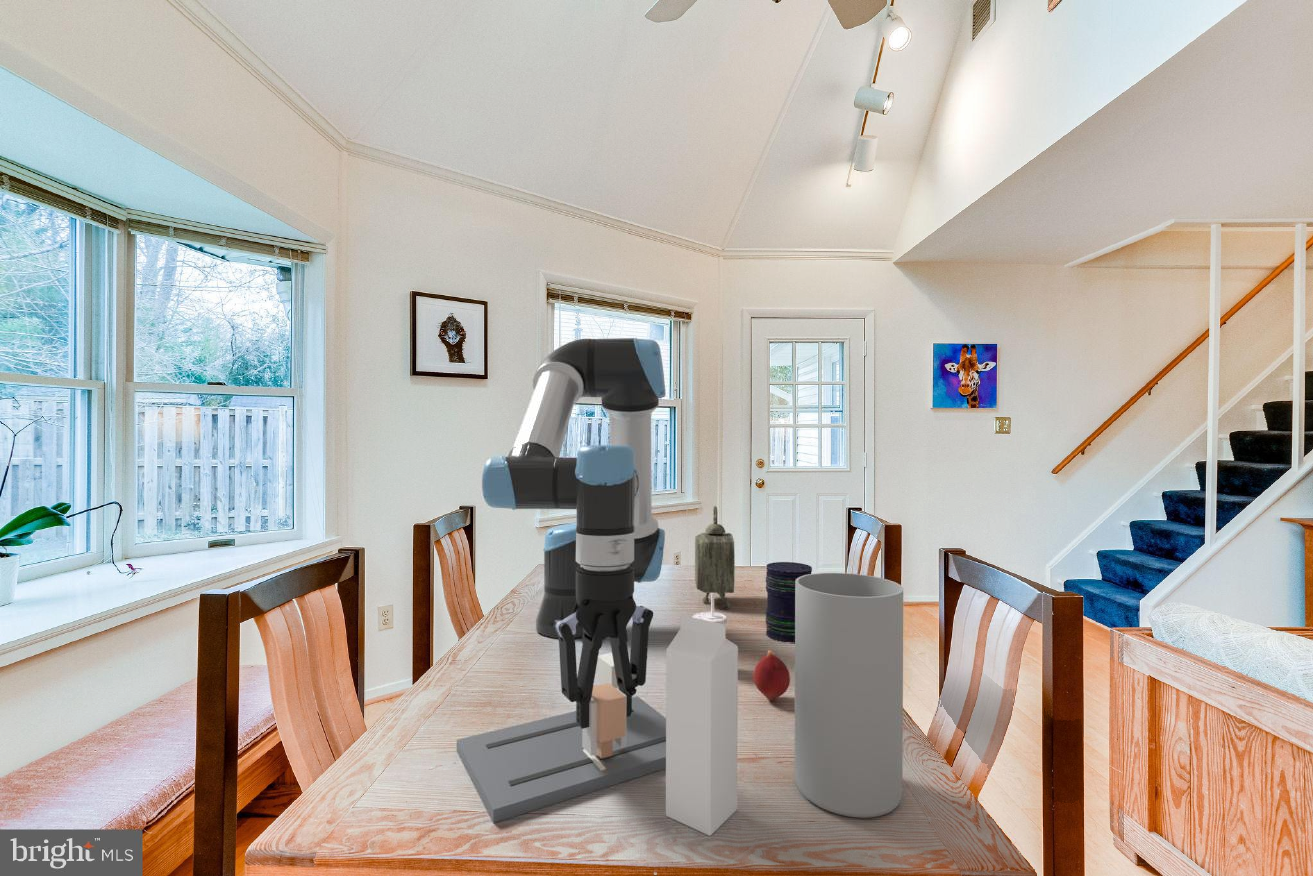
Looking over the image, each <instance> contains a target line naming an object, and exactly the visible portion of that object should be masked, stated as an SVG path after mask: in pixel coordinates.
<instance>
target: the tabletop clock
mask: <svg viewBox="0 0 1313 876" xmlns="http://www.w3.org/2000/svg"><path fill="white" fill-rule="evenodd" d="M712 511H713V518H712V519H713V520H712V523H710V524H709V525H708V526H707V527H706V528H705V532H701V533H699V534H697V535H695V537H694V538H695V540H694V582H695V588H696V589H697V590H699V591H700V592H702V593H706V594H705V596H704V597H703V598H702V602H703V603H704V604H708V603H710V598H709V595H710V594H711V593H714V594H718V595H719V596H718V597H720V598H721V600H722V601H723V604H722V608H723V609H725V610H728V609H729V608H730V602H727V601H726V598H725V597H726V594H733V593H735V569H736V568H735V567H736V564H735V540H734V537H733V534H732V533H730V532H726V530H725V527H724V526H723V525H722V524H719V523H718V508H717V506H716V505H715V506H713V510H712Z"/></svg>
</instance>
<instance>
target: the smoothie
mask: <svg viewBox="0 0 1313 876" xmlns="http://www.w3.org/2000/svg"><path fill="white" fill-rule="evenodd" d="M692 618H697V619H702V620H706V621H711V622H715V623H720V624H724V626H725V627H726V624H727V623H728V621H727V619H728V618H727V616H726V614H723V613H721V612H715V593H710V611H703V612H702V611H701V612H696V613H694V614H693V615H692Z"/></svg>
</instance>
